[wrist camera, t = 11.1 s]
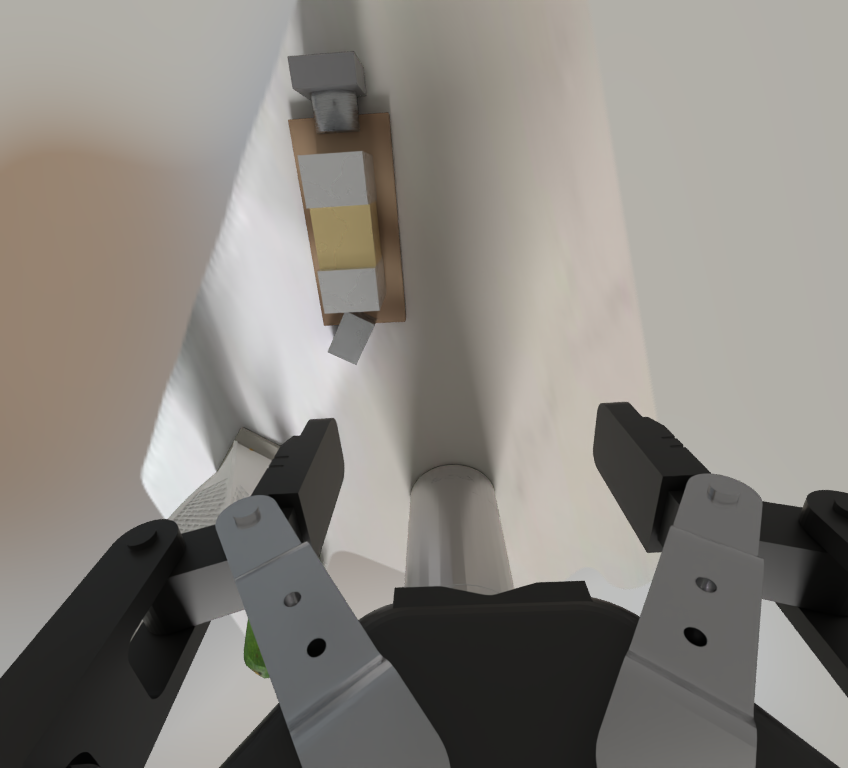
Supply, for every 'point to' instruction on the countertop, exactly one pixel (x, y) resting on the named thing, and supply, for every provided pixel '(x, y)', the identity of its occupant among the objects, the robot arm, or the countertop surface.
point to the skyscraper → (226, 482)
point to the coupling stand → (348, 132)
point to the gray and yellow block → (345, 229)
